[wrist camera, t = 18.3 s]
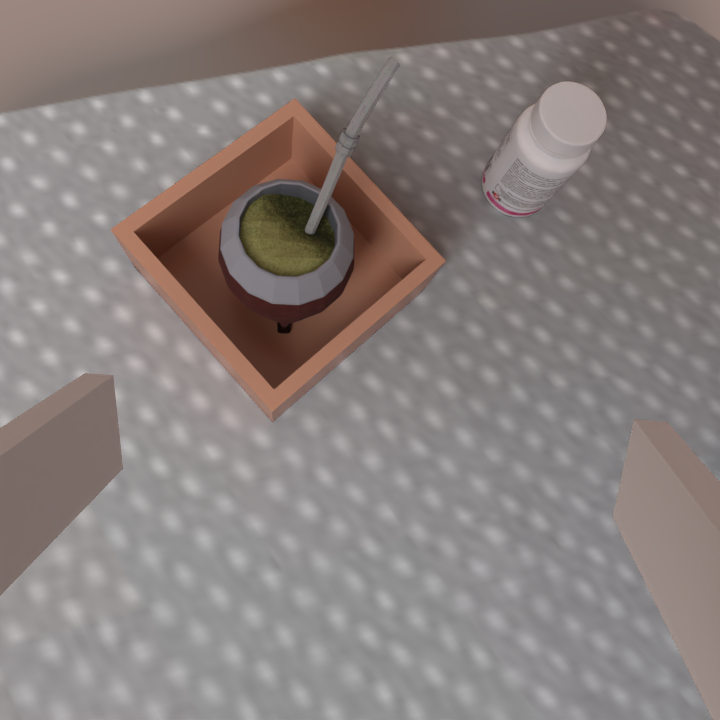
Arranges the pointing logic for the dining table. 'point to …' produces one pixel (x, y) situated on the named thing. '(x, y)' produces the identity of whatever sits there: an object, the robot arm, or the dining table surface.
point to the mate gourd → (295, 235)
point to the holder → (224, 310)
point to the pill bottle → (544, 149)
